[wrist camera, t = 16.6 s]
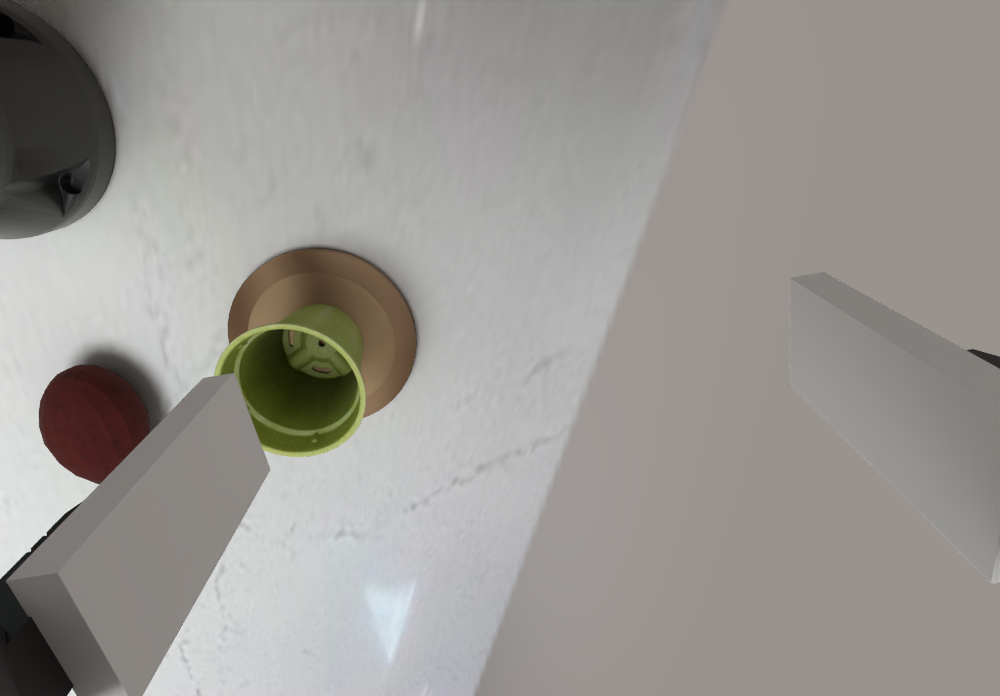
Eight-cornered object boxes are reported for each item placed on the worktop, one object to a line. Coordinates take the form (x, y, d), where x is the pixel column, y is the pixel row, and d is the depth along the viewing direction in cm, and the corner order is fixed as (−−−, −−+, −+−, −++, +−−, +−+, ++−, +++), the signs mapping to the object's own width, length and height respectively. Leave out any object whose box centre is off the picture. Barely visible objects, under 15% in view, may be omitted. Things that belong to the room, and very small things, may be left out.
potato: (139, 344, 48) (93, 379, 43) (183, 455, 52) (147, 500, 46) (49, 358, 49) (-9, 393, 43) (99, 467, 52) (52, 513, 47)
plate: (266, 430, 51) (261, 436, 50) (206, 266, 46) (199, 270, 45) (433, 402, 51) (432, 408, 50) (392, 232, 45) (390, 236, 44)
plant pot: (383, 402, 49) (363, 463, 41) (261, 391, 49) (217, 451, 41) (388, 289, 46) (367, 332, 38) (257, 276, 45) (208, 316, 37)
